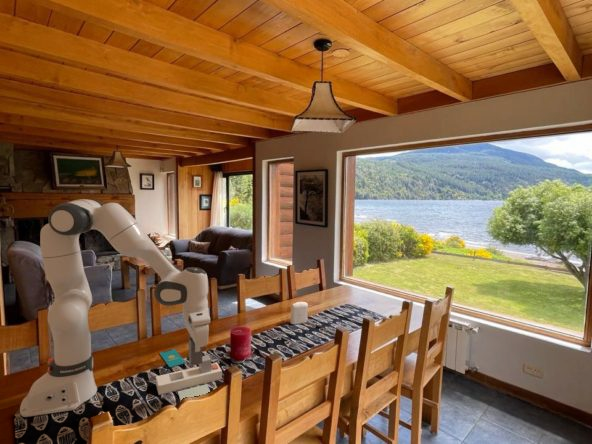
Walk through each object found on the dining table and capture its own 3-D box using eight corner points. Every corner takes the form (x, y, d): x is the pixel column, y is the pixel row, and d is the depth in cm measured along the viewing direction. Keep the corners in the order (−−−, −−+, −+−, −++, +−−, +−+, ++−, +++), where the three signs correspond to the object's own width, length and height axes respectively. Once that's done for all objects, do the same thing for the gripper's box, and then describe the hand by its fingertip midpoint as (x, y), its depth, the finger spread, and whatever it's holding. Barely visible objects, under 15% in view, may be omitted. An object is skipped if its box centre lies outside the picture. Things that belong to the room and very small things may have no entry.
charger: (191, 365, 123) (191, 342, 122) (188, 360, 126) (188, 337, 125) (202, 363, 125) (202, 340, 124) (199, 358, 128) (199, 335, 127)
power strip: (158, 394, 125) (158, 373, 124) (156, 384, 131) (156, 364, 130) (221, 378, 137) (222, 359, 136) (216, 370, 143) (217, 351, 142)
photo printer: (304, 320, 201) (305, 299, 199) (308, 322, 197) (309, 302, 195) (289, 322, 196) (290, 301, 195) (292, 325, 192) (293, 304, 191)
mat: (181, 403, 121) (181, 402, 121) (177, 392, 127) (177, 391, 127) (211, 394, 127) (211, 394, 127) (206, 385, 133) (206, 384, 133)
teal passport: (169, 367, 143) (158, 352, 155) (169, 369, 143) (158, 354, 155) (186, 362, 148) (174, 348, 159) (186, 364, 148) (174, 350, 159)
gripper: (180, 303, 131) (181, 337, 132) (193, 323, 113) (192, 362, 115) (197, 301, 134) (197, 334, 135) (211, 320, 116) (211, 358, 118)
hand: (195, 347), depth 125 cm, fingers closed on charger, 4 cm apart
